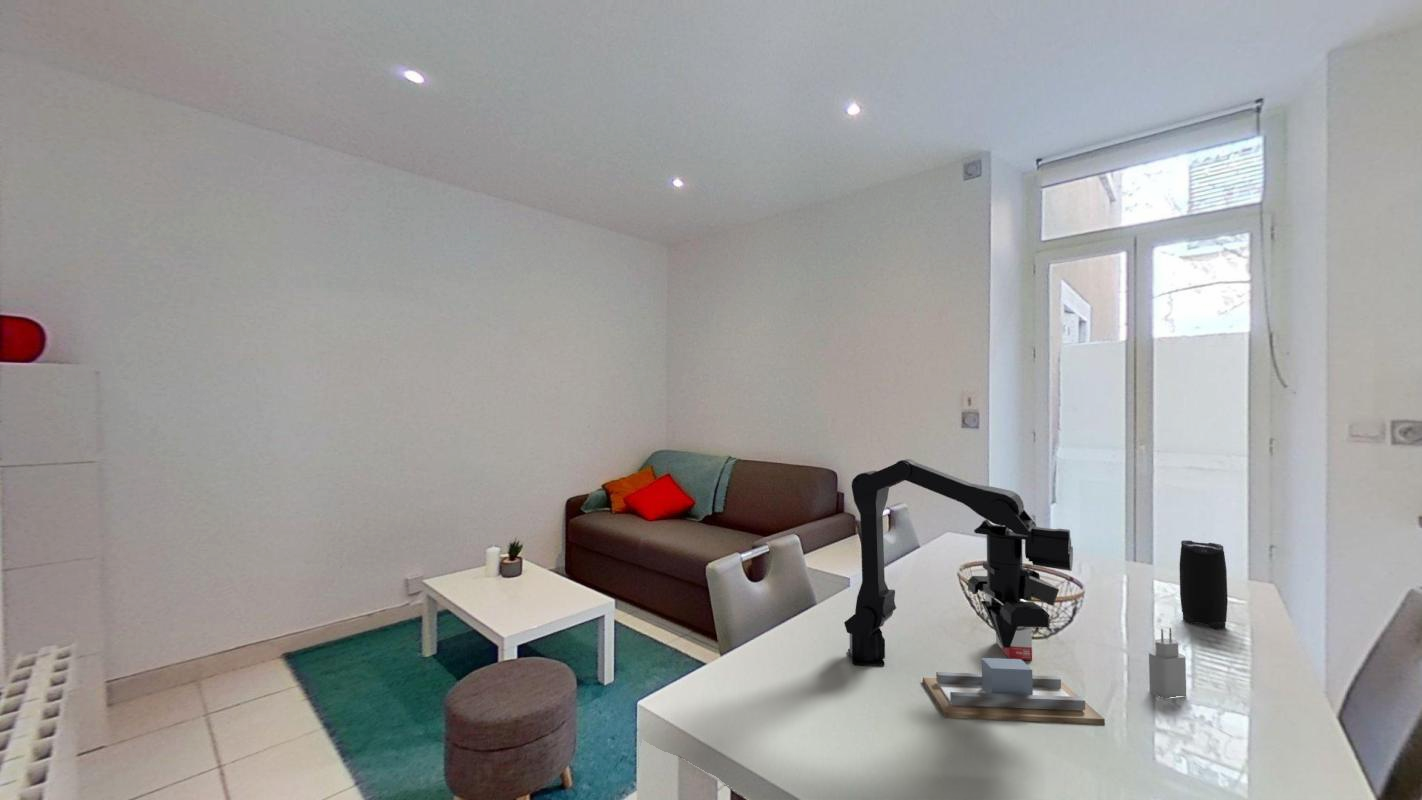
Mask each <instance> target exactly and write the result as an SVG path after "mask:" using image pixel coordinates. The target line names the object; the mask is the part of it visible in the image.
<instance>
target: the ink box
mask: <svg viewBox="0 0 1422 800" xmlns="http://www.w3.org/2000/svg"><path fill="white" fill-rule="evenodd" d="M1020 601H1023V602H1028V600H1024V599H1020ZM1032 632H1033V631H1032V627H1017V630H1016V632H1015V635H1014V638H1013V640H1012V643H1011V646H1010V648H1004V647H1003V646H1002V645H1001V643H1000V640H999V638H998V636H997V634H996V633H995V643H996V644H997V645H998V646H999V648H1000V649H1001V650H1002V652H1003V653H1004V655H1006V657H1007V659H1021V660H1023V661H1025V660H1026V661H1033V646H1032V645H1033V643H1032V642H1033V640H1032Z"/></svg>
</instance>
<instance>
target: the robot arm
mask: <svg viewBox="0 0 1422 800" xmlns="http://www.w3.org/2000/svg"><path fill="white" fill-rule="evenodd" d="M905 481H906V482H908V483H912V484H914V485H917V486H919V487H921V488H924V489H927V490H929V491H931V492H934V493H936V494H939V495H941V496H944V497H946V498H948V499H952V500H954V501H956V502H958V503H960V504H961V503H962V505H964V506H967V507H968V508H969V509H970V510H972V511H973V513H976V514H977V515H979V516H980V517H982V518H984V520H982V523H981V524H980V525H978V527H977V528H974V530H973V532H974V534H978V535H986V561H983V562H982V568H983V569H984V570H986V575H972V576H971V577H970V578H969V579H968V581H967V590H968V591H969V592H971V593H972V594H973V595H977V594H978V593H979V591H982V592H983V595H985V596H984V600H981V601H980V604H981V605H982V607H983V608H984V611H985V613H986V615H987V617H988V619H989V620H990V623H991V626H992V627H993V630H994V632H995V635H996V634H997V636H998V638H999V640H1000V643H1001V645H1002V646H1003V647H1004V648H1010V646H1011V643H1012V640H1013V638H1014V635H1015V632H1016V630H1017V627H1031V628H1050V627H1051V620H1050V619H1051V616H1050V614H1049V612H1047V611H1046V610H1045V609H1044V608H1042V607H1041V606H1040V605H1038V604H1037V603H1035V602H1033V601H1032V598H1033V599H1036V600H1039V601H1042V602H1045V603H1046V604H1047V605H1049V606H1054V605H1055V602H1056V599H1057V596H1058V594H1059V591H1060V588H1058V587H1056V586H1054V585H1053V584H1051V583H1049V582H1047V581H1045V580H1044V579H1041V578H1040V573H1039V572H1037V571H1036V570H1034V569H1031V568H1028V567H1027V568H1025V567H1024V566H1023V565H1024V563H1023V562H1024V561H1023V556H1025V558H1026V559H1028V562H1031V564H1032V565H1033V566H1036V567H1042V568H1043V567H1044V568H1049V569H1050V568H1051V569H1056V570H1057V569H1058V570H1060V571H1061V570H1062V571H1069V572H1072V571H1073V563H1074V562H1073V561H1074V546H1072V539H1071V531H1070V529H1068V528H1067V529H1066V528H1055V529H1054V528H1049V527H1048V528H1047V527H1038V526H1037V524H1036V523H1035V521H1034V520H1033V519H1032V518H1031V517H1030V515H1029V514H1028V513H1027V511H1026V510H1025V505H1024V501H1023V499H1022V498H1021V496H1020V495H1019V494H1018V493H1017V492H1015V491H1013V490H1010V489H1005V488H999V487H994V486H989V485H982V484H976V483H971V482H969V481H967V480H965V479H961V478H958V477H955V476H953V475H951V474H948V473H945V472H942V471H939V470H937V469H934V468H932V467H929V466H926V465H924V464H921V463H918V462H917V461H915V460H913V459H911V458H907V459H901V460H898V461H897V462H895V463H894V464H891V465H890V466H887V467H885V468H882V469H880V470H871V471H867V472H861V473H858V474H857V475H856V476H854V478H853V479H852V481H851V486H850V487H851V493H852V495H853V496H852V498H853V502H854V504H855V507H856V508H857V511H858V513H859V521H860V552H861V553H860V555H861V584H860V587H859V590H858V593H857V597H856V603H855V609H854V611H855V612H854V614H852V616H851V617H849V618H848V619H847V620H845V621H844V623H843V625H844V627H845V629H846V630H845V631H846V633H848V635H849V648H848V649H847V652H848V655H849V657H850V660H851V662H852V664H853V665H859V666H885V664H886V663H885V661H884V660H885V658H886V641H885V638H884V636H883V631H882V630H881V628H882V627H883V626H884V624H885V622H886V621H888V620H889V619H890V618H891V617H892V615H893V614H894V613H893V612H894V611H896V609H897V606H896V602H895V597H896V590H895V589H889V587H888V585H887V583H886V580H885V576H886V575H885V549H884V547H885V546H884V545H885V544H884V522H883V521H884V520H883V518H884V516H883V514H884V511H885V508H886V505H887V502H888V499H889V498H888V496H889V490H890V488H891V487H893V486H896V485H899V484H900V483H902V482H905ZM1023 540H1024V555H1023ZM1020 599H1024V600H1026V601H1027V602H1023V601H1020Z"/></svg>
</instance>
